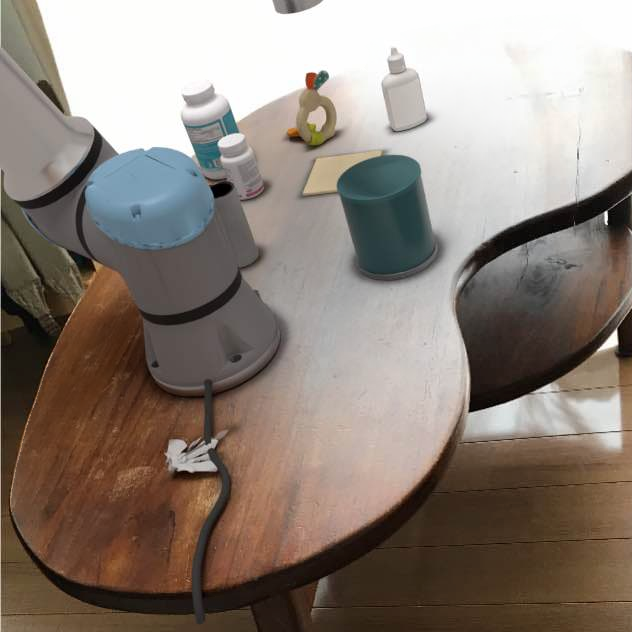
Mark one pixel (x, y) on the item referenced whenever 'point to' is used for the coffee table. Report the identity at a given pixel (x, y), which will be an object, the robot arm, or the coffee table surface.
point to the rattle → (310, 103)
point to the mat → (332, 171)
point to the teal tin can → (388, 216)
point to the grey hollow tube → (234, 222)
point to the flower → (191, 455)
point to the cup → (294, 5)
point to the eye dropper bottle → (402, 94)
